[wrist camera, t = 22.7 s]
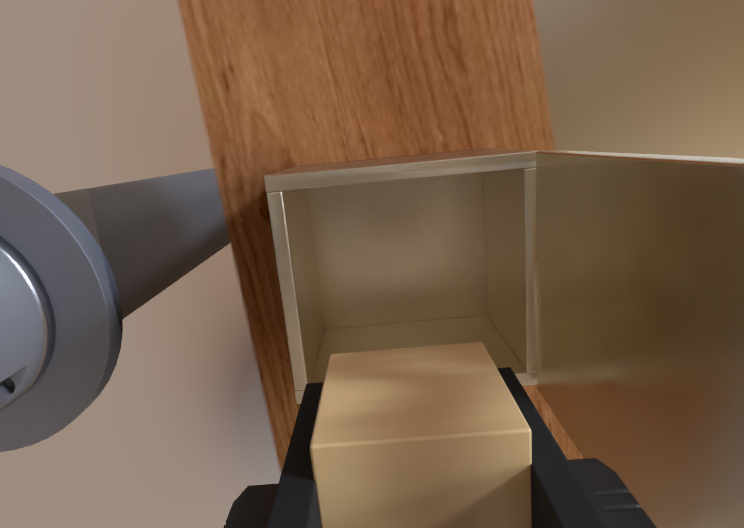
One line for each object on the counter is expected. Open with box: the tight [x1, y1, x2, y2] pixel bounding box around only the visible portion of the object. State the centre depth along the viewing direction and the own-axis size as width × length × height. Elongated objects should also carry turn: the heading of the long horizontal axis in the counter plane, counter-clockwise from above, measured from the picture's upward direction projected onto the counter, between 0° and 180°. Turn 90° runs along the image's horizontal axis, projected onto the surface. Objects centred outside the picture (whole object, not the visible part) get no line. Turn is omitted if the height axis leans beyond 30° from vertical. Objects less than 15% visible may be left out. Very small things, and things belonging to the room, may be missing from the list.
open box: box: [264, 148, 538, 404], centre depth 30 cm, size 14×13×10 cm
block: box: [310, 342, 532, 528], centre depth 12 cm, size 4×4×4 cm
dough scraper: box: [536, 150, 744, 528], centre depth 17 cm, size 14×13×9 cm
